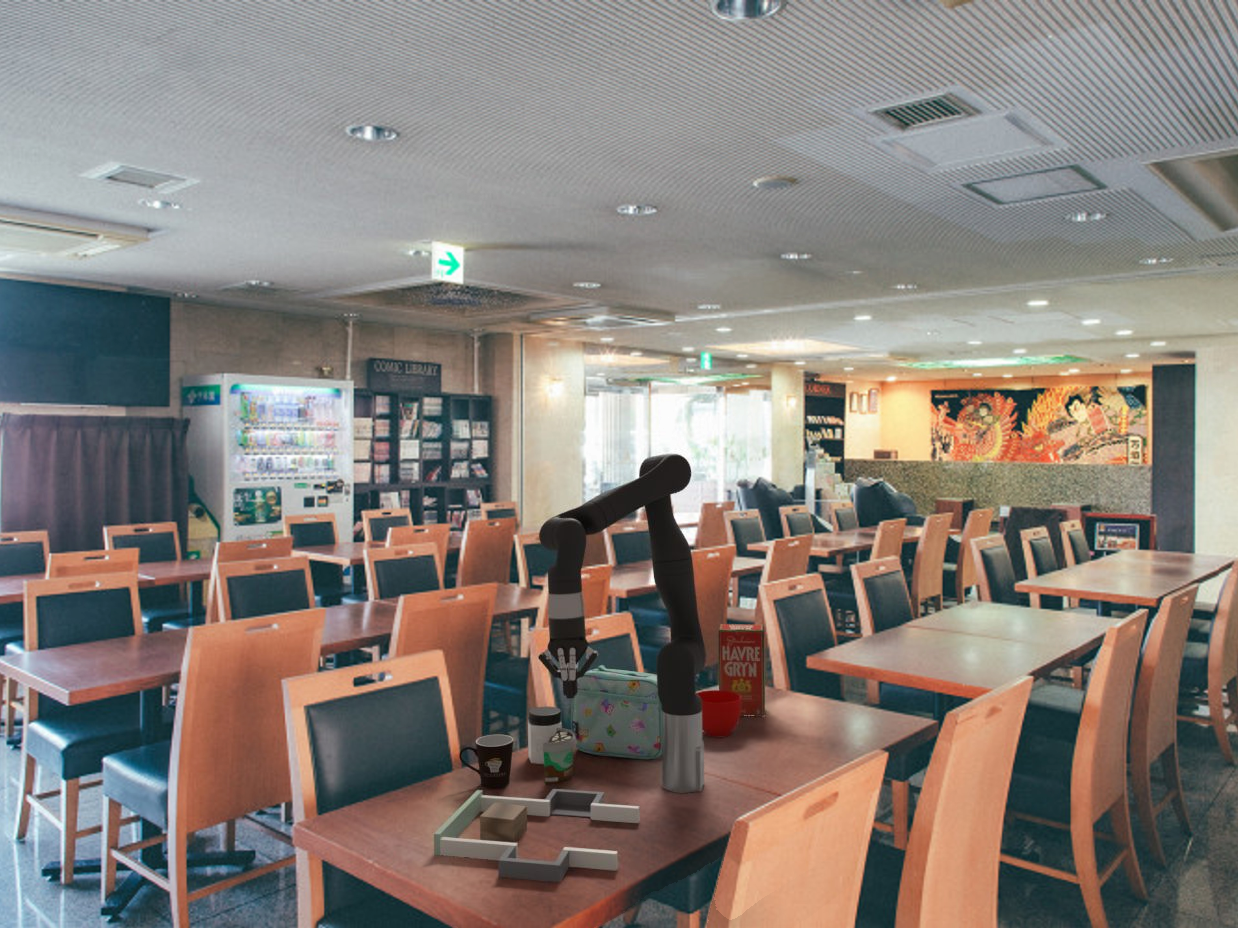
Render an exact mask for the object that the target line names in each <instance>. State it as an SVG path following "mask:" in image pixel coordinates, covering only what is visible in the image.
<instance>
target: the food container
mask: <svg viewBox="0 0 1238 928" xmlns="http://www.w3.org/2000/svg"><path fill="white" fill-rule="evenodd" d="M576 743H577V742H576V738H575V735H574V733H573V732H572V731H571V729H568V728H564V727H562V728H557V730H556V733H555V735H553V736H552V737H551V738H550V739H549V741H548V742H547V743H546V742H543V752H544V764H543V767H544V771H543V772H544V785H545V786H553V785H554V786H555V785H560V784H565V783H567V782H569V781H571V780H572V779H573V764H574V763H573V761H574V747H576V746H575V745H576Z"/></svg>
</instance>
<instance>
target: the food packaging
mask: <svg viewBox="0 0 1238 928" xmlns="http://www.w3.org/2000/svg"><path fill="white" fill-rule="evenodd" d="M718 628H719V629H718V631H717V632H718V690H721V691H729V692H734V693H737V694H739V695H740V696H741V713H740V715H741V716H740V717H745V716H744V715H747V716H746V717H749V716H748V715H754V716H764V715H765V716H766V666H765V665H766V662H765V661H766V659H765V651H766V650H765V625H764V624H743V623H742V624H740V623H738V624H736V623H731V624H730V623H725V624H724V623H720V624H719V627H718Z"/></svg>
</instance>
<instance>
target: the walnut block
mask: <svg viewBox="0 0 1238 928" xmlns="http://www.w3.org/2000/svg"><path fill="white" fill-rule="evenodd" d="M527 829H528V815H527V806H521V805H511V804H502V803H494V804H493V805H492V806H490V807H489V808H488V809H487V810H486V811H485V812H483V813H481V815H480V816H479V834H480V835H479V836H480V837H479V840H487V841H499V842H511V843H518V842H517V841H519V840H520V839H521V837H522V836H523V835H524V834H525V833H526V832H525V831H528V830H527Z"/></svg>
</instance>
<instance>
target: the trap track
mask: <svg viewBox="0 0 1238 928" xmlns="http://www.w3.org/2000/svg"><path fill="white" fill-rule="evenodd" d="M494 803H502V804H511V805H521V806H527V816H537V817H550V816H551V815H552V816H564V817H577V818H590V820H591V821H603V822H616V823H617V822H619V823H631V824H639V823H640V805H628V804H627V805H626V804H624V805H623V804H612V803H609V804H608V803H605V792H604V791H594V790H593V791H590V790H574V789H561V788H559V789H558V788H552V789H551V791H550V792H549V793H548V795H547V796H546V798H544V799H543V798H541V799H540V798H528V797H512V796H499V795H498V796H497V795H484V794H483V790H482V789H481V790H480V789H477V790H475V792H474V793H473V794H472V795H471V796H470V797H469V798H468V799H467V800H466V801H465V802H464V803H463V804H462V805H461V806H460V807H458V809H456V811H455V812H454V813H453V814H452V815H450V817H449V818H448V819H447V820H446V821H445V822H444V823H443V824H442V825H440V827H439V828H438V829H437V830H436V831H435V832H434V833H433V855H434V856H441V855H444V856H445V857H453V856H455V858H464V857H470V858H469V859H476V858H477V860H478V859H480V860H487V859H488V860H489V861H497V864H498V866H497V867H498V869H497V870H498V871H497V872H498V876H499V877H498V878H505V877H507V878H508V879H517V880H530V881H539V882H540V881H541V882H550V883H561V881H562V880H563V878H564V877H565V875H566V873H567V871H568V870H569V868H570V867H571V868H580V869H581V868H582V869H583V868H584V869H593V870H594V869H595V870H604V871H605V870H606V871H614V872H615V871H618V868H619V858H618V857H619V856H618V853H619V851H618V850H607V849H596V848H581V847H571V846H564V847H563V848H562V850H561V851H560V854H559V855H558V856H557V858H556V860H555V861H551V860H550V861H548V860H535V859H525V858H519V844H518V842H516V843H511V842H499V841H487V840H480V839H474V838H473V839H472V838H460V837H459V836H460V835H461V834H462V832H464V830H465V829H466V828H467V827H468V826H469V825H470V824H471V823H472V822H473V821H474V820H475V818H476V817H477V816H478V815H479V814H480V813H481V812H483V813H484V812H485V811H486V810H487V809H488V808H489V807H490V806H492V805H493V804H494ZM549 815H550V816H549ZM458 837H459V838H458ZM446 855H447V856H446ZM444 856H443V857H444ZM457 856H458V857H457ZM507 878H506V879H507Z"/></svg>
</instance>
